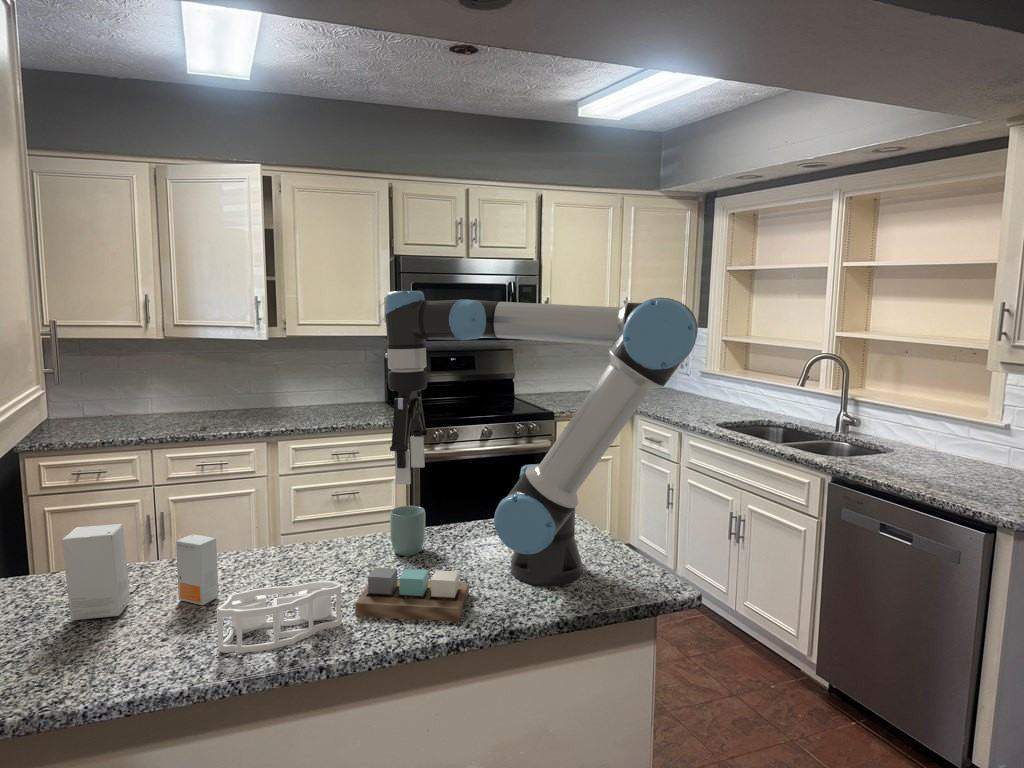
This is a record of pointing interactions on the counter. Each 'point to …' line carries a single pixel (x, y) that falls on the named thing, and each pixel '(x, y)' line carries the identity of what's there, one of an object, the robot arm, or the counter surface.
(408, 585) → the key
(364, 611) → the keypad
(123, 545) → the skincare box
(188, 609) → the counter surface
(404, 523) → the cup
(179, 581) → the skincare box
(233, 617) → the car outline toy
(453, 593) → the key
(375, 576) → the key
